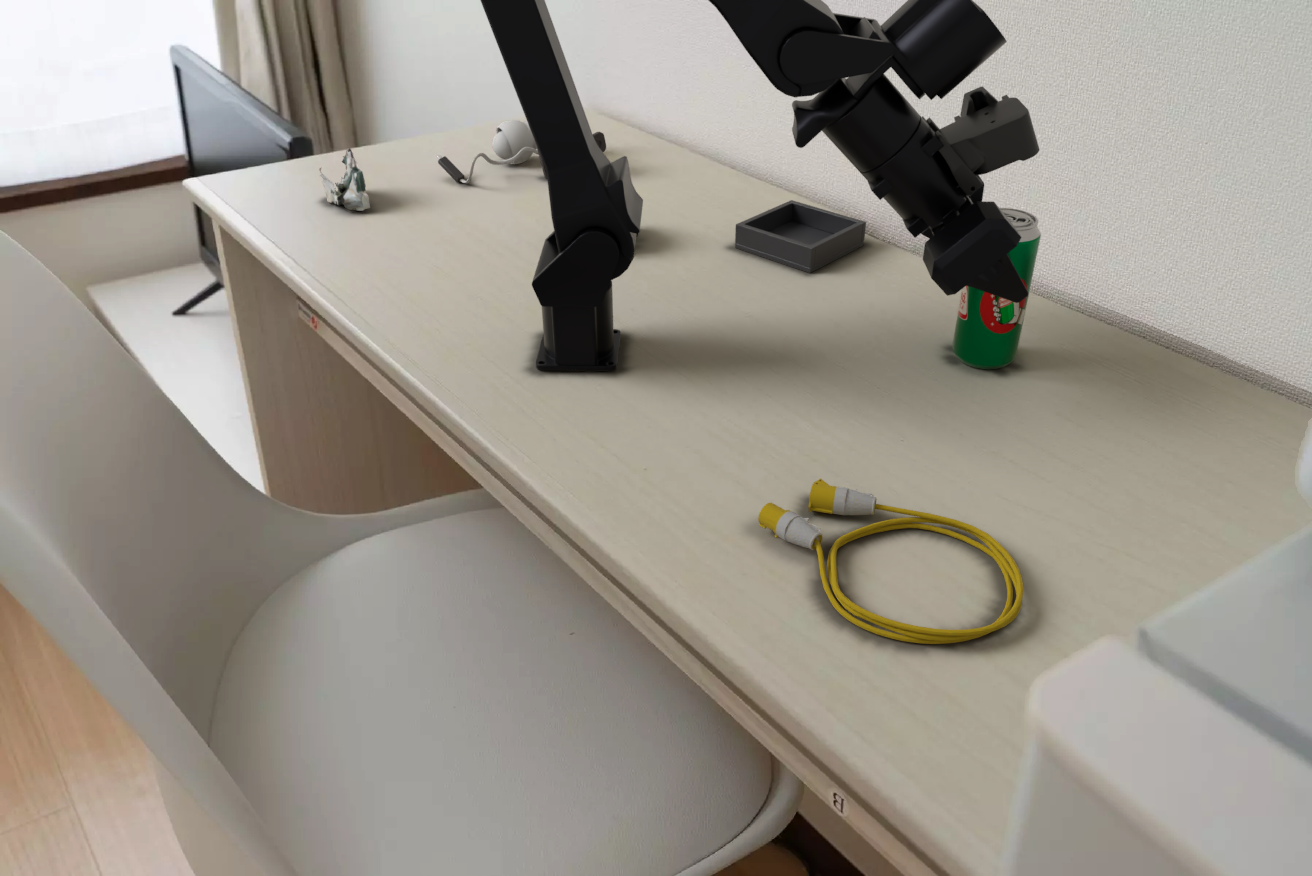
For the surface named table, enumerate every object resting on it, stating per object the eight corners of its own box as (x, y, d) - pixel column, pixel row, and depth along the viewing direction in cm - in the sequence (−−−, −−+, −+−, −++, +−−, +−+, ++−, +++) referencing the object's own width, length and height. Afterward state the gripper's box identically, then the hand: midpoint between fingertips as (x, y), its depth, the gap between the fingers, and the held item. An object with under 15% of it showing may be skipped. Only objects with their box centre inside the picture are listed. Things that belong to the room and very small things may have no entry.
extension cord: (901, 473, 73) (904, 448, 72) (1065, 614, 61) (1072, 588, 60) (745, 518, 69) (746, 493, 68) (889, 680, 57) (893, 653, 56)
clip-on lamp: (474, 222, 120) (613, 164, 125) (459, 173, 116) (603, 114, 121) (439, 182, 128) (571, 129, 133) (423, 134, 124) (560, 81, 129)
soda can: (961, 337, 90) (985, 201, 83) (1022, 352, 88) (1051, 213, 81) (942, 362, 86) (965, 221, 80) (1005, 378, 84) (1034, 234, 77)
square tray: (810, 273, 101) (812, 248, 100) (734, 247, 106) (735, 224, 105) (864, 245, 107) (866, 221, 105) (790, 222, 112) (791, 199, 111)
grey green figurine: (352, 190, 121) (342, 129, 117) (375, 211, 115) (365, 148, 111) (315, 197, 119) (303, 135, 115) (336, 219, 113) (325, 155, 110)
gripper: (1013, 99, 66) (1148, 265, 72) (952, 33, 82) (1067, 174, 88) (873, 218, 71) (1011, 365, 77) (841, 134, 87) (957, 261, 92)
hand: (1014, 283), depth 83 cm, fingers closed on soda can, 5 cm apart
